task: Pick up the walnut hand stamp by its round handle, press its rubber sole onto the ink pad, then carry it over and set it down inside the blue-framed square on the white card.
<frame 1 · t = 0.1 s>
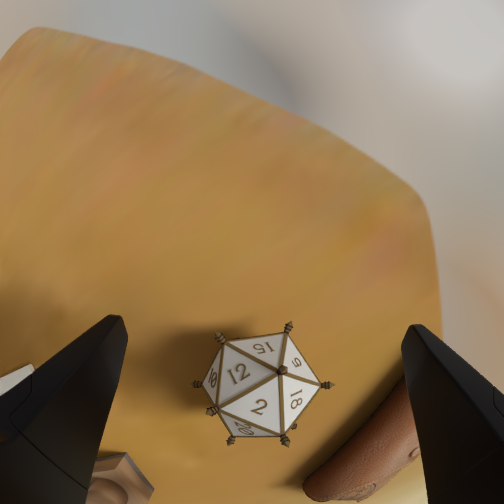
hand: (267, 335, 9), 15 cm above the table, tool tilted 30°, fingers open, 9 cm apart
sunglasses case: (392, 428, 24), on the table
stamp: (122, 474, 24), on the table
game die: (259, 367, 24), on the table
print card: (28, 425, 24), on the table
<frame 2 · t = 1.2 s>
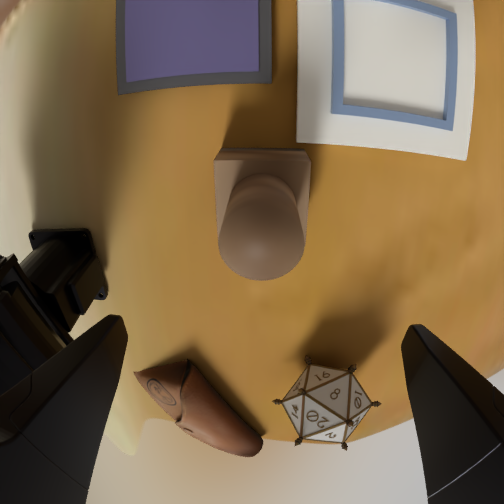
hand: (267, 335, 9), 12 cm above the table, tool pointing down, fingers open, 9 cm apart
sunglasses case: (203, 405, 34), on the table
stamp: (262, 186, 20), on the table
game die: (321, 369, 29), on the table
ink pad: (192, 16, 14), on the table
print card: (394, 56, 15), on the table
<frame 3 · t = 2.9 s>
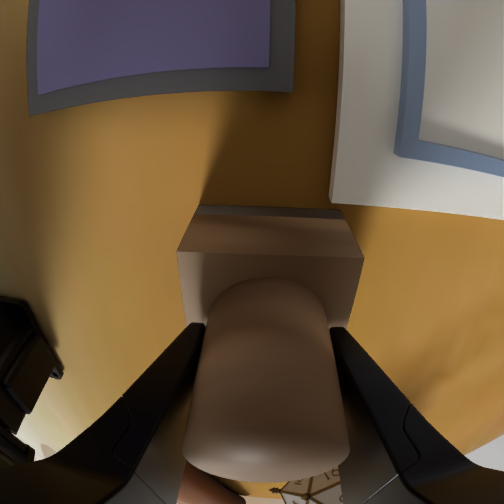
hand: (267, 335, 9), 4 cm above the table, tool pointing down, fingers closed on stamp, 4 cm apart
sunglasses case: (184, 470, 26), on the table
stamp: (267, 267, 12), on the table, touching gripper
game die: (329, 450, 21), on the table
print card: (488, 65, 7), on the table
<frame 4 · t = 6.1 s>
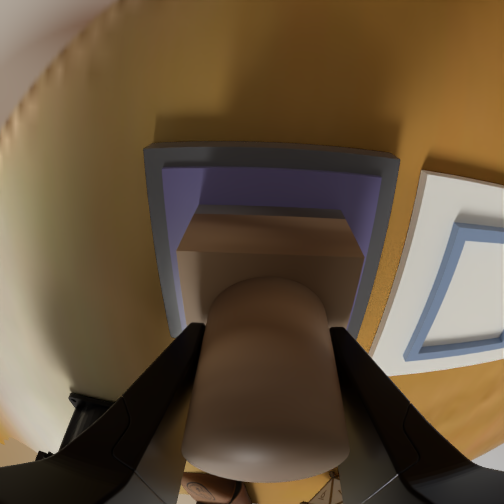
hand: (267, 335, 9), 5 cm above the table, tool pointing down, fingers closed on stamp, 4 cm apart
sunglasses case: (220, 488, 33), on the table
stamp: (267, 267, 12), point 1 cm above the table, touching gripper, ink pad
game die: (341, 474, 28), on the table
ink pad: (268, 250, 13), on the table
print card: (480, 289, 14), on the table
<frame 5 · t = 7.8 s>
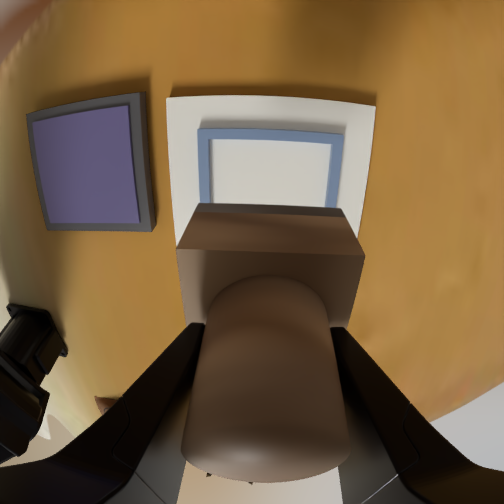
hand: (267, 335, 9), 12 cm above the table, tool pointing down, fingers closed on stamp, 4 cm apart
stamp: (267, 265, 12), point 9 cm above the table, touching gripper
ink pad: (89, 165, 19), on the table
print card: (268, 192, 20), on the table
when the fingers open (4 cm above the table, at t = 9.4 s): stamp stays where it is, resting on print card.
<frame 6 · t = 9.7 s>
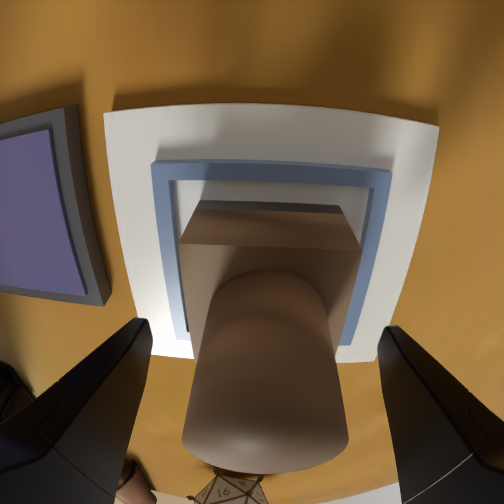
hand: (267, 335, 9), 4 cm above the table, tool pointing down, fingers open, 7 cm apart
sunglasses case: (122, 470, 32), on the table
stamp: (267, 262, 12), point 1 cm above the table, touching print card
game die: (234, 474, 27), on the table
ink pad: (20, 211, 12), on the table
print card: (268, 255, 13), on the table
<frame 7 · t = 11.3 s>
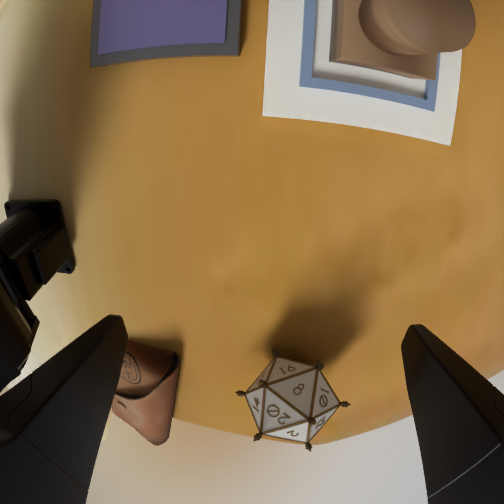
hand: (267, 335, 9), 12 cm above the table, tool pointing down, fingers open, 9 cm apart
sunglasses case: (142, 386, 33), on the table
stamp: (374, 30, 13), point 1 cm above the table, touching print card
game die: (290, 363, 28), on the table
print card: (371, 32, 14), on the table
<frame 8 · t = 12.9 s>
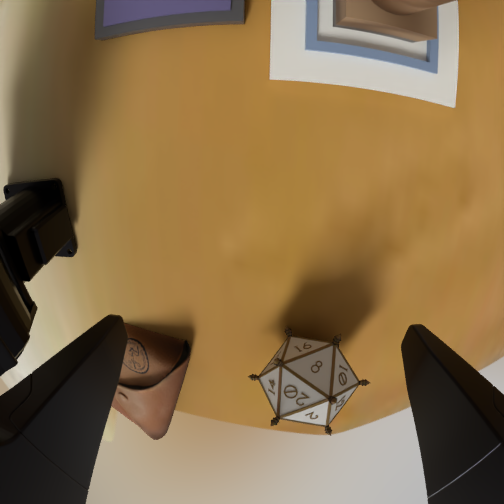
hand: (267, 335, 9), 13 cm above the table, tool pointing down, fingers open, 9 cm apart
sunglasses case: (144, 376, 32), on the table
game die: (304, 344, 27), on the table
print card: (371, 1, 13), on the table
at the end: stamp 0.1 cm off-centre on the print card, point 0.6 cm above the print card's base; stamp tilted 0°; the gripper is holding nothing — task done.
